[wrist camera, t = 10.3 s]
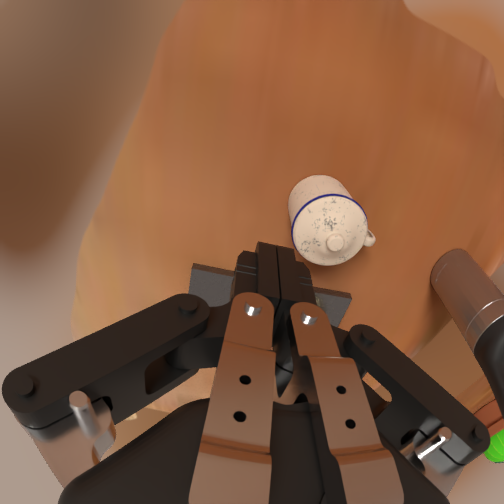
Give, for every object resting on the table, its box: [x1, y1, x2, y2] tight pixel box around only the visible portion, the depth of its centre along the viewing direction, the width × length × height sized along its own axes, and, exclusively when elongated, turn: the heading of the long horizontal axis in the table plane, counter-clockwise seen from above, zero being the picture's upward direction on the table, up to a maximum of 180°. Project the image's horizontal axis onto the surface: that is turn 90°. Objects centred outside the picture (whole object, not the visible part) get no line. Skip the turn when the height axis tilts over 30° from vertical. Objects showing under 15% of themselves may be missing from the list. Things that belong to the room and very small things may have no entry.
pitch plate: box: [188, 263, 352, 327], centre depth 49 cm, size 26×11×8 cm, turn 77°
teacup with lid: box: [288, 175, 376, 266], centre depth 38 cm, size 12×9×12 cm
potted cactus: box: [474, 399, 504, 463], centre depth 69 cm, size 22×22×25 cm
